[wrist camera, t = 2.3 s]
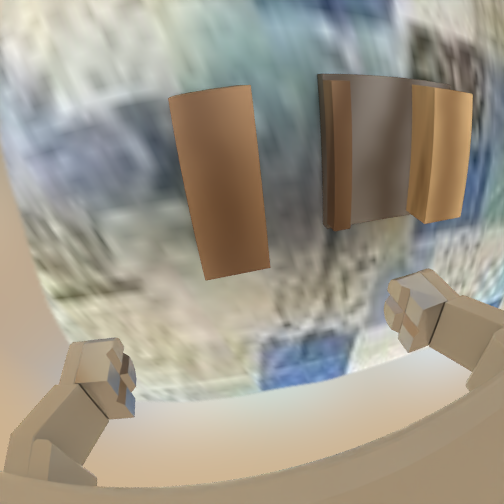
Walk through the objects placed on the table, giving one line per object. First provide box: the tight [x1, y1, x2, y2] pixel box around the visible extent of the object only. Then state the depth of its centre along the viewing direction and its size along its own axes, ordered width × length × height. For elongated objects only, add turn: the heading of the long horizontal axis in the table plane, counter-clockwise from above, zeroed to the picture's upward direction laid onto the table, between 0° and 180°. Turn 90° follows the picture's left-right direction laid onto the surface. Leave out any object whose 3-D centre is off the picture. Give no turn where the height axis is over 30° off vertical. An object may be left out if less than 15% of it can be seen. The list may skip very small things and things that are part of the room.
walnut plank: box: [168, 85, 270, 280], centre depth 21 cm, size 4×12×6 cm, turn 7°
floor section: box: [317, 74, 473, 231], centre depth 23 cm, size 14×13×4 cm
